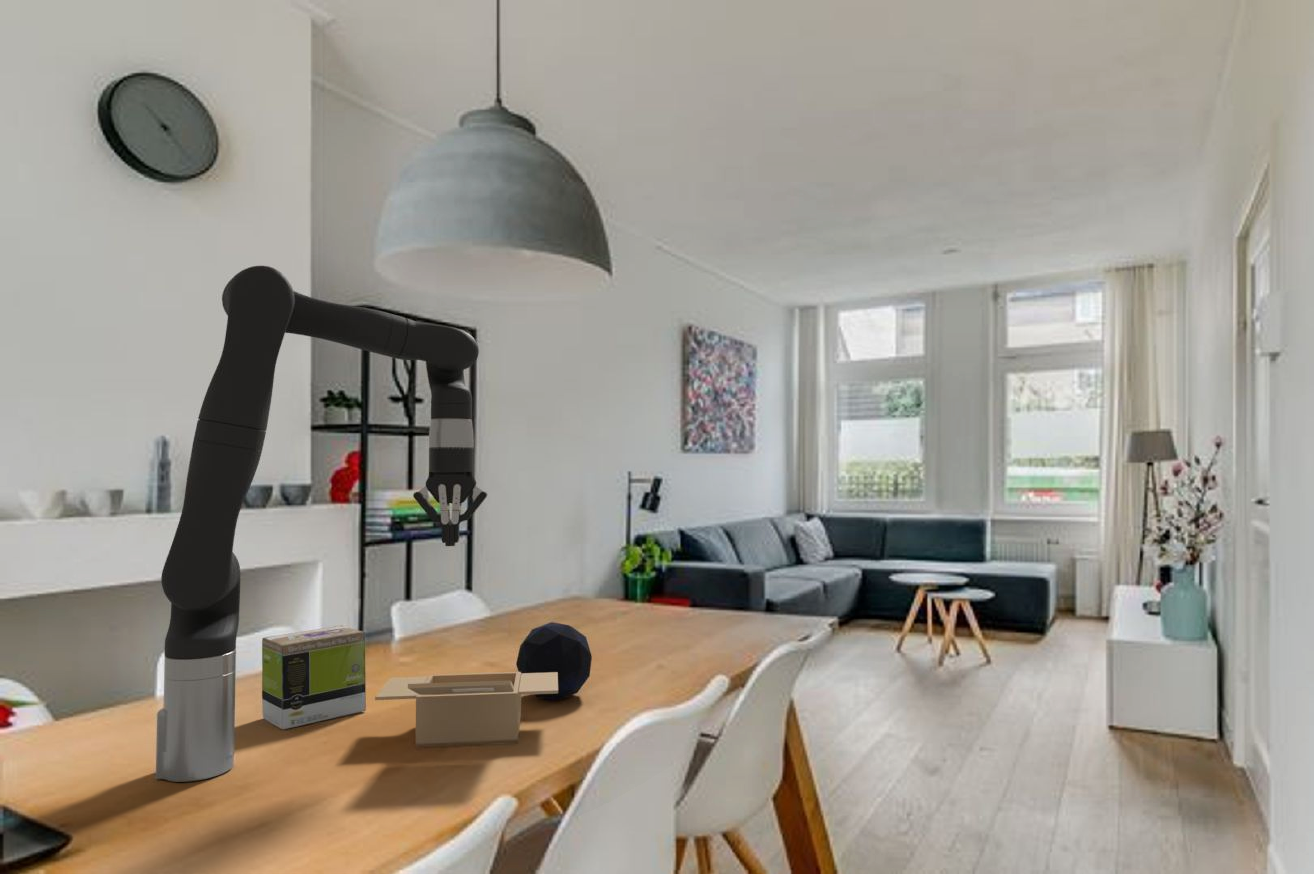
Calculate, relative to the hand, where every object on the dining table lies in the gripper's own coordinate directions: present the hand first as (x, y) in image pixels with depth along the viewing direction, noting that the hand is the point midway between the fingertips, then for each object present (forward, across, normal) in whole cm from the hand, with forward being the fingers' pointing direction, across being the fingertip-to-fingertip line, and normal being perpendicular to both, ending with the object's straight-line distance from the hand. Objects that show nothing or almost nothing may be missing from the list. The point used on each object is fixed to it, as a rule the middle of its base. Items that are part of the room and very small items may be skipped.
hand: (450, 545), depth 141 cm
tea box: (+31, -25, +10) cm, 41 cm away
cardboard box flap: (+22, +4, -10) cm, 25 cm away
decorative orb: (+31, +18, +16) cm, 39 cm away
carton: (+31, +4, -3) cm, 31 cm away
